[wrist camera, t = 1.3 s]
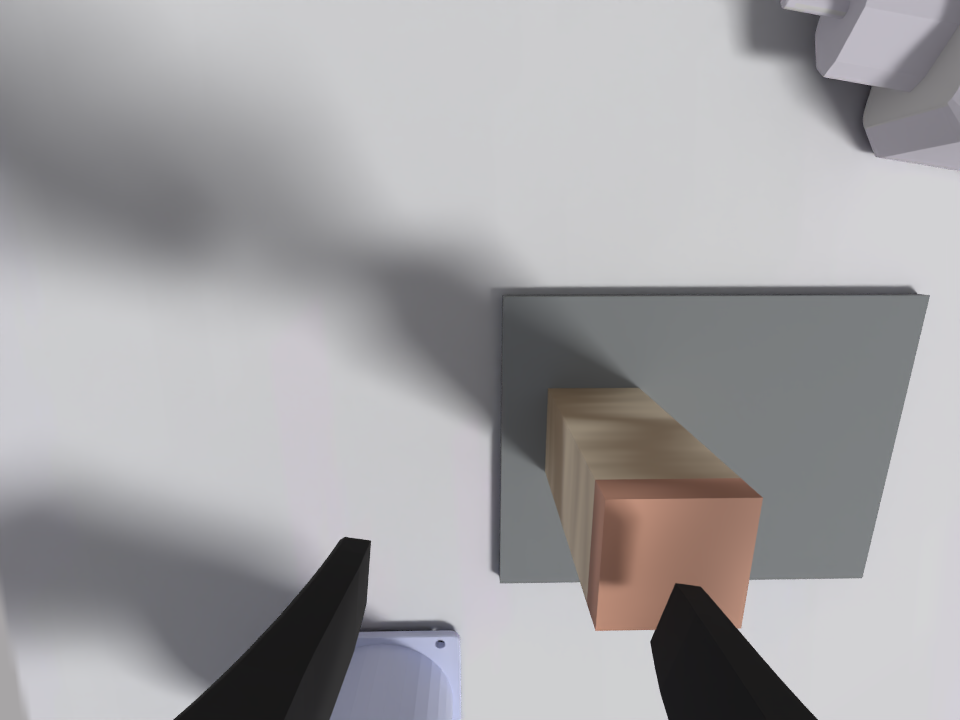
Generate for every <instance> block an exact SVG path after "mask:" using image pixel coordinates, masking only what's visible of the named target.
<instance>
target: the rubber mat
mask: <svg viewBox="0 0 960 720" xmlns="http://www.w3.org/2000/svg"><path fill="white" fill-rule="evenodd" d="M929 297H930V295H922V294H799V295H503V305H502V395H501V484H500V574H499V576H500V583H557V582H580V580H579V577H578V574H577V571H576V567H575V564H574V561H573V558H572V555H571V552H570V549H569V545H568V542H567V539H566V536H565V533H564V530H563V527H562V524H561V520H560V517H559V514H558V511H557V508H556V505H555V502H554V498H553V495H552V492H551V489H550V486H549V483H548V480H547V476H546V473H545V457H546V431H547V404H548V388H640V389H641V390H642V391H643V392H644V393H645V394H647V395H648V396H649V397H650V398H651V399H652V400H653V401H654V402H656V403H657V404H658V405H659V406H660V407H661V408H662V409H663V410H665V411H666V412H667V413H668V414H669V415H670V416H671V417H673V418H674V419H675V420H676V421H677V422H678V423H679V424H680V425H682V426H683V427H684V428H685V429H686V430H687V431H688V432H689V433H691V434H692V435H693V436H694V437H695V438H696V439H697V440H698V441H700V442H701V443H702V444H703V445H704V446H705V447H706V448H707V449H709V450H710V451H711V452H712V453H713V454H714V455H715V456H716V457H718V458H719V459H720V460H721V461H722V462H723V463H724V464H725V465H727V466H728V467H729V468H730V469H731V470H732V471H733V472H735V473H736V474H737V475H738V476H739V477H740V478H741V479H742V480H744V481H745V482H746V483H747V484H748V485H749V486H750V487H751V488H753V489H754V490H755V491H756V492H757V493H758V494H759V495H760V496H762V497H763V501H762V506H761V512H760V518H759V524H758V530H757V536H756V542H755V548H754V554H753V560H752V566H751V572H750V578H749V580H765V579H834V578H862V577H863V573H864V568H865V564H866V560H867V556H868V552H869V547H870V543H871V539H872V535H873V531H874V527H875V522H876V518H877V514H878V510H879V506H880V502H881V497H882V493H883V489H884V485H885V481H886V476H887V472H888V468H889V464H890V460H891V456H892V451H893V447H894V443H895V439H896V435H897V431H898V426H899V422H900V418H901V414H902V410H903V405H904V401H905V397H906V393H907V389H908V385H909V380H910V376H911V372H912V368H913V364H914V360H915V355H916V351H917V347H918V343H919V339H920V334H921V330H922V326H923V322H924V318H925V314H926V309H927V305H928V301H929Z"/></svg>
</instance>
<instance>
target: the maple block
mask: <svg viewBox="0 0 960 720" xmlns="http://www.w3.org/2000/svg"><path fill="white" fill-rule="evenodd" d="M545 473H546V476H547V480H548V483H549V486H550V489H551V492H552V495H553V498H554V502H555V505H556V508H557V511H558V514H559V517H560V520H561V524H562V527H563V530H564V533H565V536H566V539H567V542H568V545H569V549H570V552H571V555H572V558H573V561H574V564H575V567H576V571H577V574H578V577H579V580H580V583H581V586H582V589H583V593H584V596H585V599H586V602H587V605H588V608H589V611H590V615H591V618H592V621H593V624H594V627H595V630H596V631H608V630H656V627H657V625H658V623H659V620H660V618H661V616H662V613H663V611H664V609H665V606H666V604H667V602H668V599H669V597H670V595H671V592H672V590H673V588H674V585H675V583H679V584H687V585H694V586H701V587H702V588H703V589H704V591H705V592H706V593H707V594H708V595H709V596H710V597H711V599H712V600H713V601H714V602H715V603H716V604H717V606H718V607H719V608H720V609H721V610H722V611H723V613H724V614H725V615H726V616H727V617H728V618H729V620H730V621H731V622H732V623H733V624H734V626H735V627H736V628H741V625H742V619H743V613H744V607H745V601H746V596H747V590H748V584H749V578H750V572H751V566H752V560H753V554H754V548H755V542H756V536H757V530H758V524H759V518H760V512H761V506H762V501H763V497H762V496H760V495H759V494H758V493H757V492H756V491H755V490H754V489H753V488H751V487H750V486H749V485H748V484H747V483H746V482H745V481H744V480H742V479H741V478H740V477H739V476H738V475H737V474H736V473H735V472H733V471H732V470H731V469H730V468H729V467H728V466H727V465H725V464H724V463H723V462H722V461H721V460H720V459H719V458H718V457H716V456H715V455H714V454H713V453H712V452H711V451H710V450H709V449H707V448H706V447H705V446H704V445H703V444H702V443H701V442H700V441H698V440H697V439H696V438H695V437H694V436H693V435H692V434H691V433H689V432H688V431H687V430H686V429H685V428H684V427H683V426H682V425H680V424H679V423H678V422H677V421H676V420H675V419H674V418H673V417H671V416H670V415H669V414H668V413H667V412H666V411H665V410H663V409H662V408H661V407H660V406H659V405H658V404H657V403H656V402H654V401H653V400H652V399H651V398H650V397H649V396H648V395H647V394H645V393H644V392H643V391H642V390H641V389H640V388H548V404H547V431H546V457H545Z"/></svg>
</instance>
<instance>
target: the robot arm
mask: <svg viewBox="0 0 960 720" xmlns="http://www.w3.org/2000/svg"><path fill="white" fill-rule="evenodd" d="M370 547H371V541H370V540H363V539H355V538H348V537H344V538H343V539H341V540H340V541H339V542H338V544H337V545H336V546H335V548H334V549H333V551H332V552H331V554H330V555H329V556H328V558H327V559H326V560H325V562H324V563H323V564H322V566H321V567H320V568H319V569H318V571H317V572H316V573H315V575H314V576H313V577H312V578H311V579H310V581H309V582H308V583H307V584H306V586H305V587H304V588H303V589H302V590H301V592H300V593H299V594H298V595H297V596H296V597H295V599H294V600H293V601H292V602H291V603H290V604H289V606H288V607H287V608H286V609H285V610H284V611H283V613H282V614H281V615H280V616H279V617H278V618H277V619H276V620H275V622H274V623H273V624H272V625H271V626H270V627H269V628H268V629H267V630H266V631H265V632H264V633H263V634H262V635H261V636H260V637H259V638H258V640H257V641H256V642H255V643H254V644H253V645H252V646H251V647H250V648H249V649H248V650H247V651H246V652H245V653H244V654H243V655H242V656H241V657H240V658H239V659H238V660H237V661H236V662H235V663H234V664H233V665H232V666H231V667H230V668H229V669H228V670H227V671H226V672H225V673H224V674H223V675H222V676H221V677H220V678H219V679H218V680H217V681H216V682H215V683H214V684H212V685H211V686H210V687H209V688H208V689H207V690H206V691H205V692H204V693H203V694H202V695H201V696H200V697H199V698H197V699H196V700H195V701H194V702H193V703H192V704H191V705H190V706H188V707H187V708H186V709H185V710H184V711H183V712H182V713H180V714H179V715H178V716H177V717H176V718H175V719H174V720H461V663H460V636H459V634H458V633H457V632H455V631H451V630H447V631H385V632H359V631H360V627H361V623H362V619H363V615H364V611H365V607H366V603H367V589H368V575H369V561H370ZM438 640H443V642H438ZM650 643H651V648H652V654H653V659H654V665H655V670H656V675H657V679H658V684H659V689H660V693H661V696H662V700H663V703H664V706H665V709H666V713H667V716H668V719H669V720H818V719H817V718H816V717H815V716H814V715H813V714H812V713H811V712H810V711H809V710H808V709H807V708H806V707H805V706H804V704H803V703H802V702H801V701H800V700H799V699H798V698H797V697H796V696H795V695H794V693H793V692H792V691H791V690H790V689H789V688H788V687H787V686H786V685H785V683H784V682H783V681H782V680H781V679H780V678H779V677H778V676H777V674H776V673H775V672H774V671H773V670H772V669H771V668H770V666H769V665H768V664H767V663H766V662H765V661H764V660H763V658H762V657H761V656H760V655H759V654H758V653H757V651H756V650H755V649H754V648H753V647H752V646H751V644H750V643H749V642H748V641H747V640H746V639H745V637H744V636H743V635H742V634H741V633H740V631H739V630H738V629H737V628H736V627H735V626H734V624H733V623H732V622H731V621H730V620H729V618H728V617H727V616H726V615H725V614H724V613H723V611H722V610H721V609H720V608H719V607H718V606H717V604H716V603H715V602H714V601H713V600H712V599H711V597H710V596H709V595H708V594H707V593H706V592H705V591H704V589H703V588H702V587H701V586H694V585H687V584H679V583H675V585H674V588H673V590H672V592H671V595H670V597H669V599H668V602H667V604H666V606H665V609H664V611H663V613H662V616H661V618H660V620H659V623H658V625H657V627H656V630H655V632H654V634H653V637H652V639H651V642H650Z"/></svg>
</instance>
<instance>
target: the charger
mask: <svg viewBox="0 0 960 720" xmlns="http://www.w3.org/2000/svg"><path fill="white" fill-rule="evenodd" d="M780 5H781V7H782V9H788V10H793V11H799V12H804V13H810V14H815V15H820V18H819V22H818V26H817V29H816V33H815V50H816V69H817V70H818V71H819V72H820V74H821V75H822V76H823V77H826V78H832V79H838V80H843V81H849V82H855V83H860V84H866V85H872V87H871V91H870V94H869V97H868V100H867V103H866V107H865V110H864V114H863V126H864V128H865V131H866V134H867V137H868V139H869V142H870V145H871V147H872V150H873V152H874V154H875V156H876V157H879V158H885V159H891V160H897V161H903V162H909V163H915V164H921V165H927V166H933V167H939V168H945V169H951V170H957V171H960V0H781V2H780Z"/></svg>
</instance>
